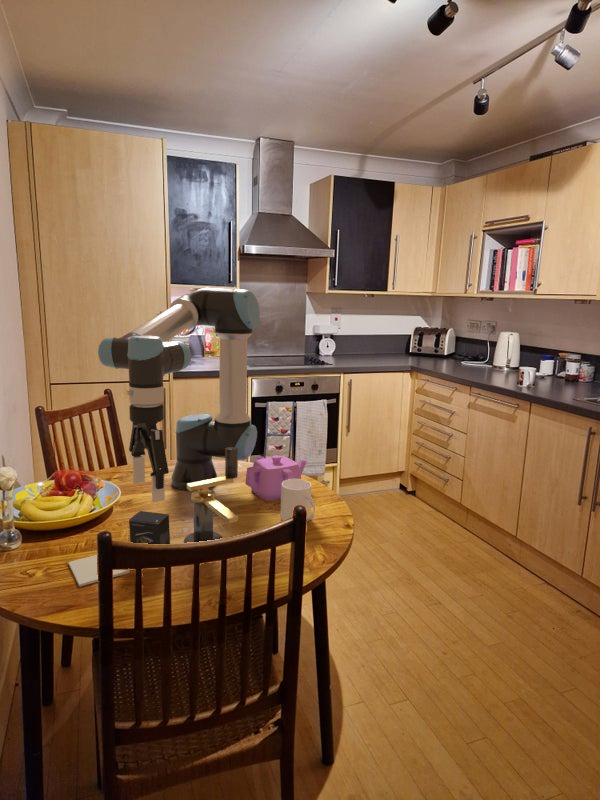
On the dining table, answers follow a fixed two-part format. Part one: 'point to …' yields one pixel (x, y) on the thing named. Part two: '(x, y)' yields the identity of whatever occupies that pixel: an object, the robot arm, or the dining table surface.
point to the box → (149, 528)
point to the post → (202, 524)
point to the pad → (89, 570)
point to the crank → (209, 496)
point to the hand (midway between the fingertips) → (148, 491)
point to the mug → (296, 497)
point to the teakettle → (272, 475)
